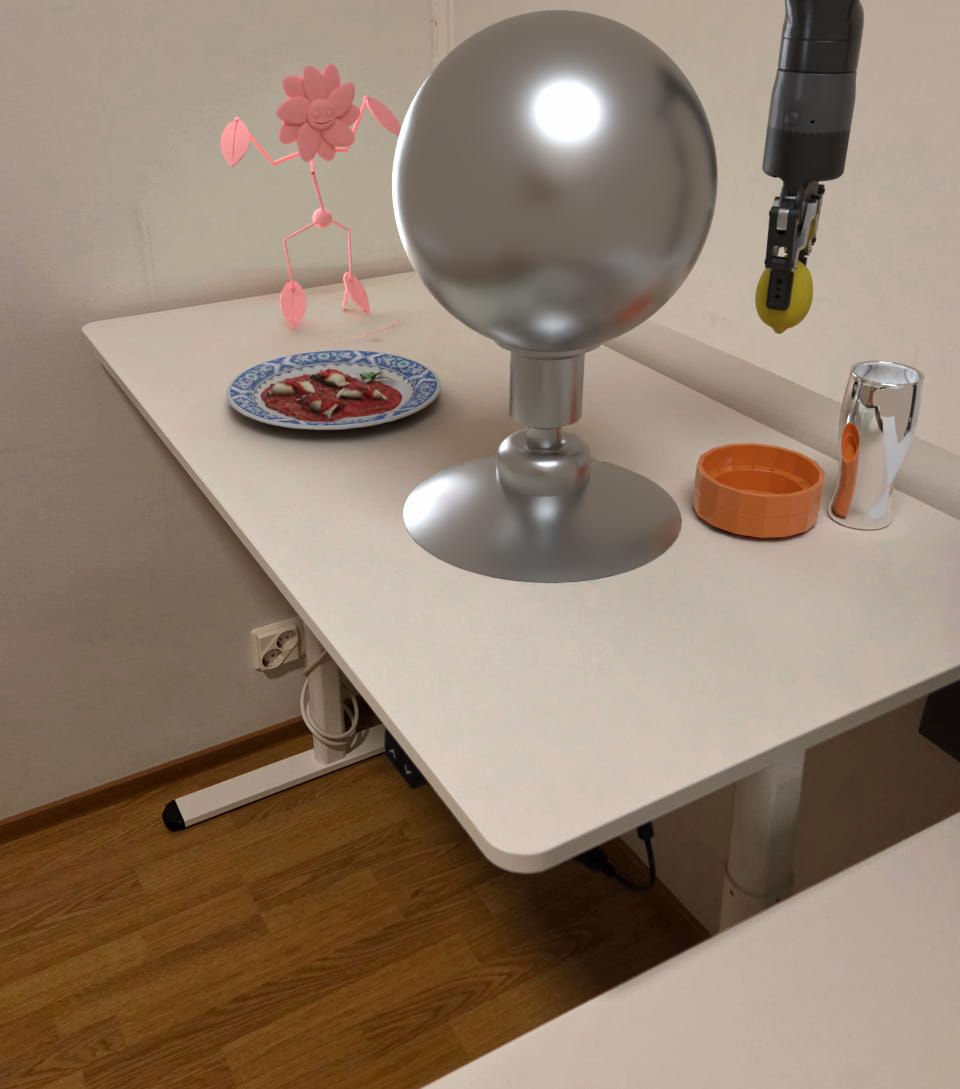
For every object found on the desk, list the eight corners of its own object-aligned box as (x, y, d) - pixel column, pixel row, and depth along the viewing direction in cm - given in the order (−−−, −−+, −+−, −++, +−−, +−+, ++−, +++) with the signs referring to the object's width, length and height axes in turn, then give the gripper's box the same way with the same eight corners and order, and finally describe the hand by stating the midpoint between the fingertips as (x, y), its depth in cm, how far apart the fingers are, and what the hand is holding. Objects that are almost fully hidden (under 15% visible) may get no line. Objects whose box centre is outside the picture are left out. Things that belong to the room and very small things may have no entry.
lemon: (739, 332, 112) (749, 254, 109) (773, 321, 116) (783, 245, 112) (784, 346, 109) (796, 265, 105) (817, 334, 112) (830, 256, 108)
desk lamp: (570, 617, 93) (601, 29, 71) (345, 516, 109) (313, 10, 87) (733, 504, 111) (798, 10, 89) (520, 432, 127) (531, -3, 105)
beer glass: (808, 514, 109) (833, 370, 102) (847, 493, 114) (873, 354, 106) (871, 539, 105) (901, 391, 98) (909, 517, 109) (941, 373, 102)
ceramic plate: (290, 464, 119) (288, 439, 118) (193, 393, 137) (190, 370, 136) (482, 411, 132) (483, 388, 131) (371, 352, 150) (370, 331, 149)
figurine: (231, 326, 160) (203, 65, 143) (388, 299, 172) (379, 55, 155) (273, 356, 149) (247, 77, 132) (438, 325, 161) (434, 65, 144)
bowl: (793, 485, 115) (800, 441, 113) (834, 541, 105) (842, 494, 102) (680, 488, 114) (685, 444, 112) (709, 545, 104) (715, 497, 101)
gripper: (836, 136, 95) (807, 326, 103) (863, 114, 106) (835, 287, 115) (750, 130, 98) (728, 315, 106) (785, 109, 109) (763, 278, 118)
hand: (784, 300), depth 110 cm, fingers closed on lemon, 5 cm apart
